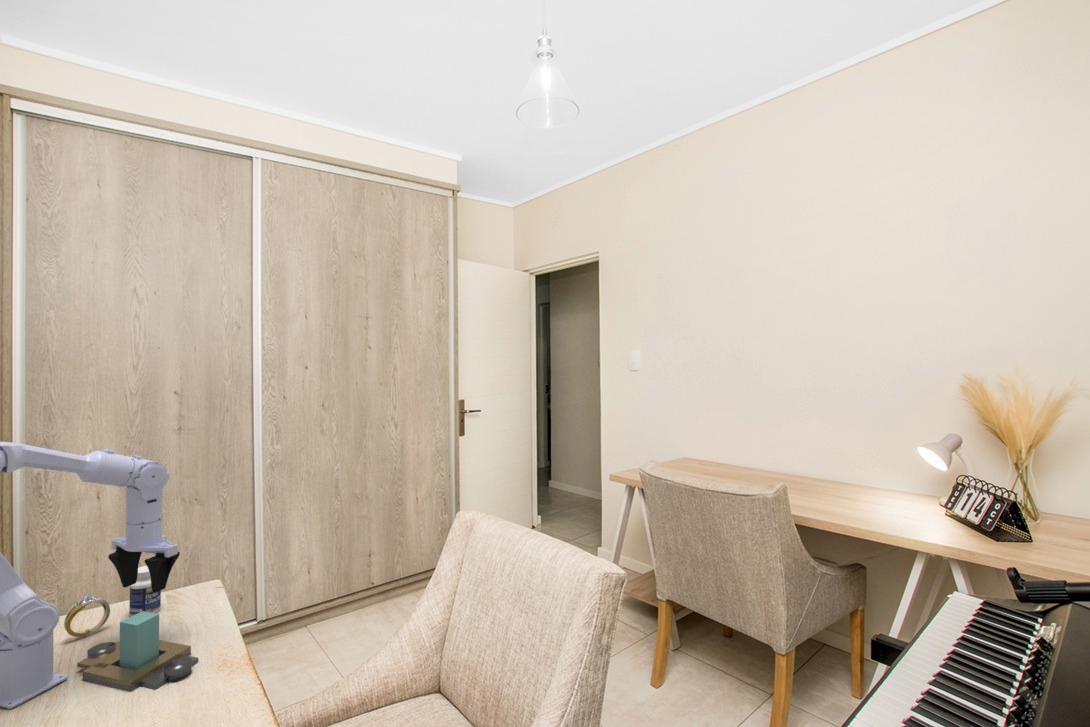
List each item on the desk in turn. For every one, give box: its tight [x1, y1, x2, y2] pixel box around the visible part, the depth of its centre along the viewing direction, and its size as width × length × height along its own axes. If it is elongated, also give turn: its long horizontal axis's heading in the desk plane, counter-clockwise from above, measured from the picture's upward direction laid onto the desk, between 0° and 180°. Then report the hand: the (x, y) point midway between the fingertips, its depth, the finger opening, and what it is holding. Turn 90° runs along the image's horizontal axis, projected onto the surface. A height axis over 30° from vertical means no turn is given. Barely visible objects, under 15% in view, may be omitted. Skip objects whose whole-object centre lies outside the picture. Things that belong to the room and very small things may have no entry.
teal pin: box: [119, 611, 160, 670], centre depth 92 cm, size 4×4×9 cm
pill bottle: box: [128, 565, 162, 617], centre depth 111 cm, size 5×5×10 cm
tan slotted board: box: [76, 639, 192, 687], centre depth 93 cm, size 16×11×2 cm, turn 76°
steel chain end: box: [81, 649, 199, 692], centre depth 91 cm, size 16×11×2 cm, turn 76°
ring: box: [63, 594, 111, 638], centre depth 102 cm, size 7×3×8 cm, turn 146°
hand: (144, 587), depth 100 cm, fingers open, 7 cm apart
